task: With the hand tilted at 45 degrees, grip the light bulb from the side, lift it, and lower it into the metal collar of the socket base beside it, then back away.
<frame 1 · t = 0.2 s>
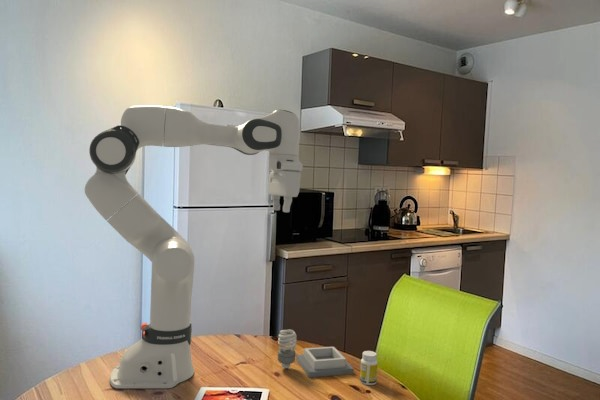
hand: (281, 211, 136), 47 cm above the table, tool pointing down, fingers open, 8 cm apart
bulb socket: (323, 366, 140), on the table
light bulb: (285, 369, 137), on the table
supplement bottle: (368, 382, 130), on the table
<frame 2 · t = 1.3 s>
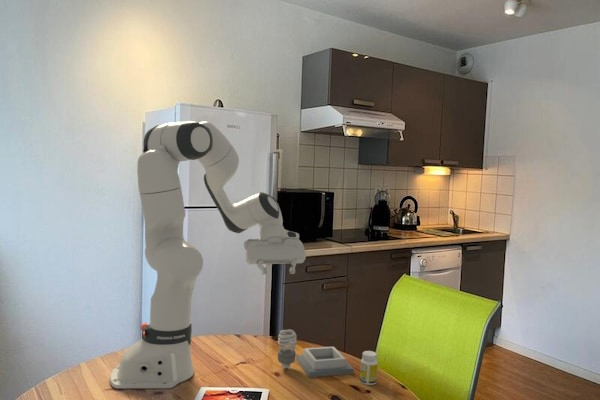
hand: (278, 273, 149), 26 cm above the table, tool tilted 45°, fingers open, 8 cm apart
nothing on the table moved.
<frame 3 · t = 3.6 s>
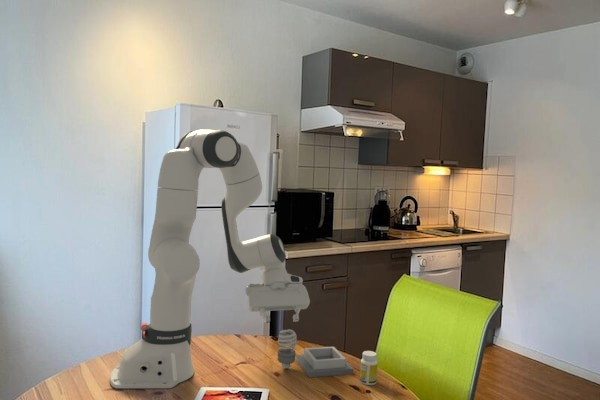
hand: (282, 321, 143), 12 cm above the table, tool tilted 45°, fingers open, 8 cm apart
nothing on the table moved.
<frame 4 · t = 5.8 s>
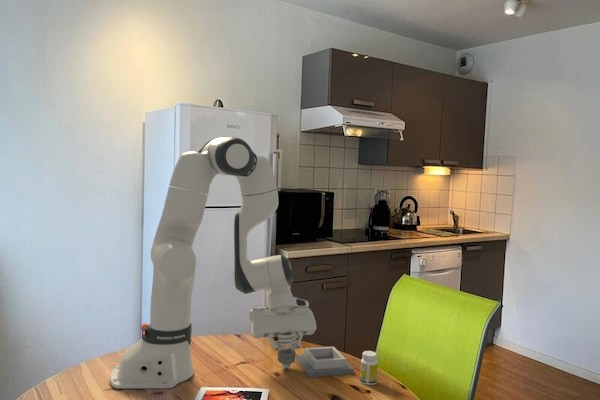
hand: (287, 348, 136), 6 cm above the table, tool tilted 45°, fingers closed on light bulb, 5 cm apart
light bulb: (285, 369, 137), on the table, touching gripper
everything else where it was.
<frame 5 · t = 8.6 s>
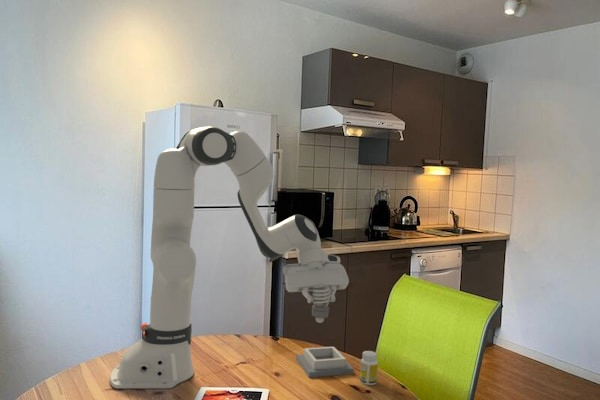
hand: (322, 301, 138), 20 cm above the table, tool tilted 45°, fingers closed on light bulb, 6 cm apart
light bulb: (319, 324, 139), point 13 cm above the table, touching gripper
everything else where it was.
when the fingers open (9 cm above the table, at t = 11.3 s): light bulb stays where it is, resting on bulb socket.
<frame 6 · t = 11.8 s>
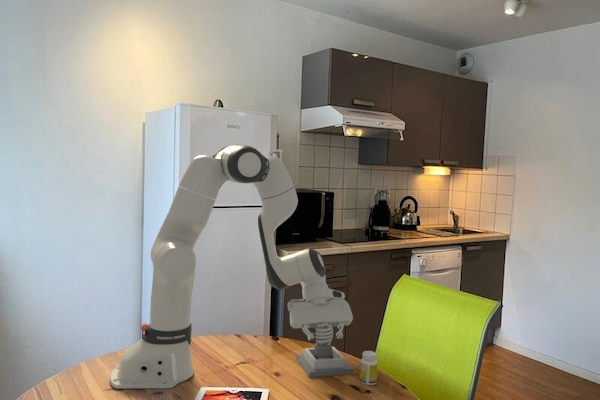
hand: (325, 338, 139), 9 cm above the table, tool tilted 45°, fingers open, 8 cm apart
light bulb: (322, 362, 139), point 1 cm above the table, touching bulb socket
everything else where it was.
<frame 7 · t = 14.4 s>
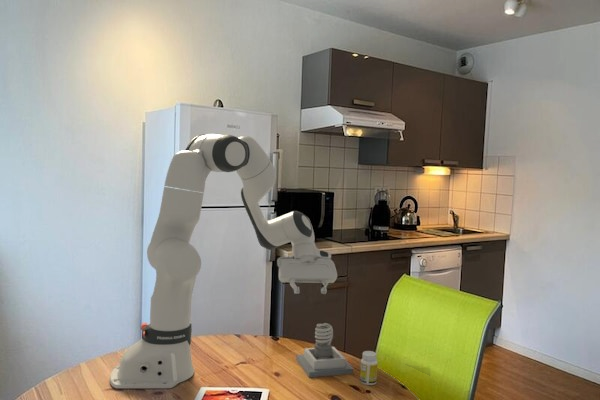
hand: (310, 293, 150), 20 cm above the table, tool tilted 40°, fingers open, 8 cm apart
nothing on the table moved.
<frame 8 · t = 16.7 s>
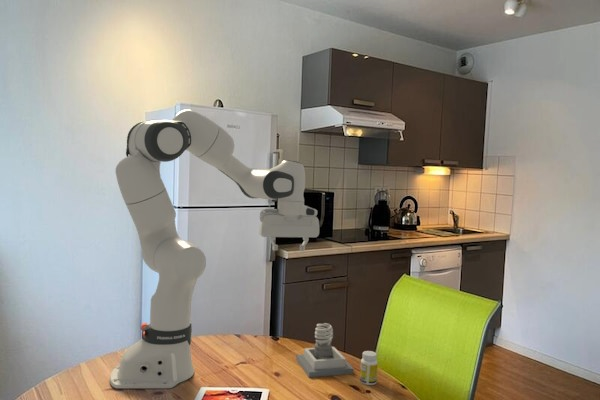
hand: (288, 250, 152), 33 cm above the table, tool pointing down, fingers open, 8 cm apart
nothing on the table moved.
at the end: light bulb 0.5 cm off-centre on the bulb socket, point 1.3 cm above the bulb socket's base; light bulb tilted 0°; the gripper is holding nothing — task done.
